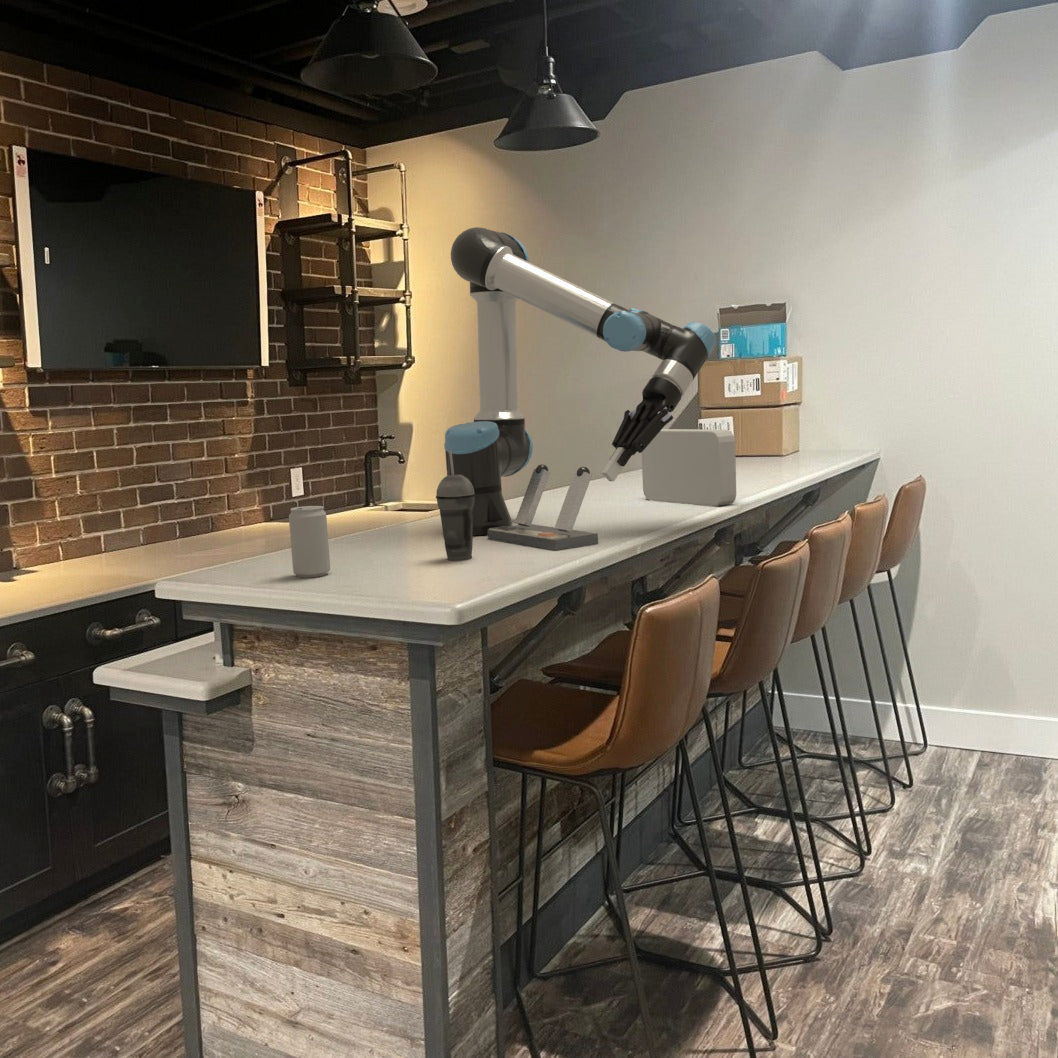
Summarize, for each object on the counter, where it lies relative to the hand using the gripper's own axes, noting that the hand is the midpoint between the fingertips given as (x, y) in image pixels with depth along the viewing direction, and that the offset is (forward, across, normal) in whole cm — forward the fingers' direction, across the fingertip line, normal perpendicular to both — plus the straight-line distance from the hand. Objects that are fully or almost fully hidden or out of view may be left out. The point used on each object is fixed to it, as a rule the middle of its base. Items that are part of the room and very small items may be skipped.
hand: (607, 476), depth 204 cm
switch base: (+17, +8, 0) cm, 18 cm away
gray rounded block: (-26, +30, -43) cm, 59 cm away
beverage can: (+50, +10, +34) cm, 61 cm away
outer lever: (+15, +1, +1) cm, 15 cm away
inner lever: (+15, +15, +1) cm, 21 cm away
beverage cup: (+32, +3, +15) cm, 35 cm away
